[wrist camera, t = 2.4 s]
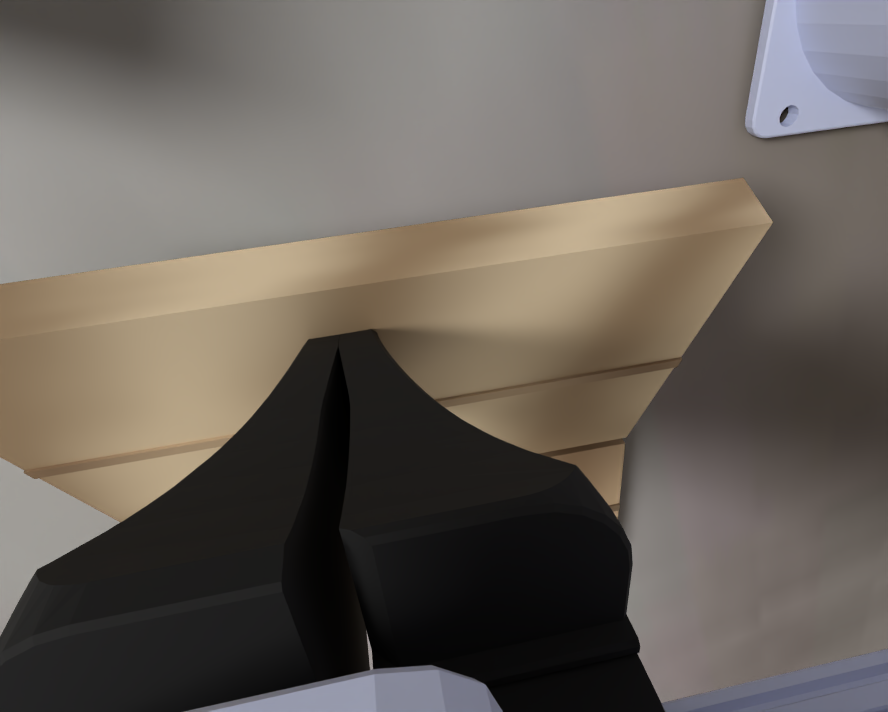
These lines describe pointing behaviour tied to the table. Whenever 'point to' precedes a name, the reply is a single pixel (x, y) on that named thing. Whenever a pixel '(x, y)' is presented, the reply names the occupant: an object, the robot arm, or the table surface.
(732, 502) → the table surface
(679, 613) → the table surface
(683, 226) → the slatted wooden panel
